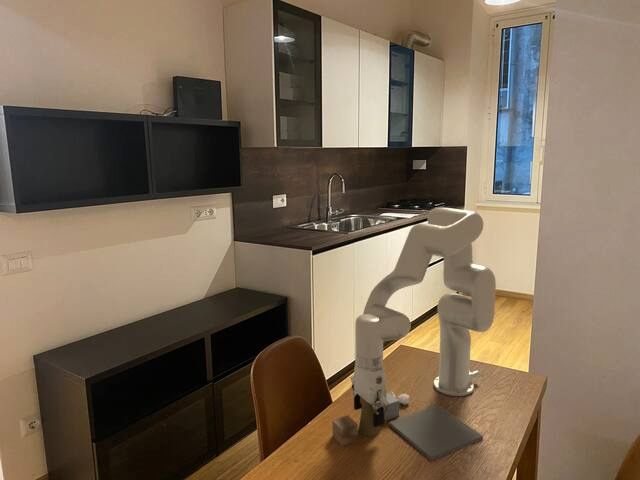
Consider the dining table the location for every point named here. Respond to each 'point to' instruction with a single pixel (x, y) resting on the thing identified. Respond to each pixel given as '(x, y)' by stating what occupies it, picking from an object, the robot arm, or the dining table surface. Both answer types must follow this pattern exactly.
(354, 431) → the walnut block
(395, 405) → the slate-grey block
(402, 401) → the game pieces
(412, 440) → the mat
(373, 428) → the olive lobed rounded piece
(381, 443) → the dining table surface
